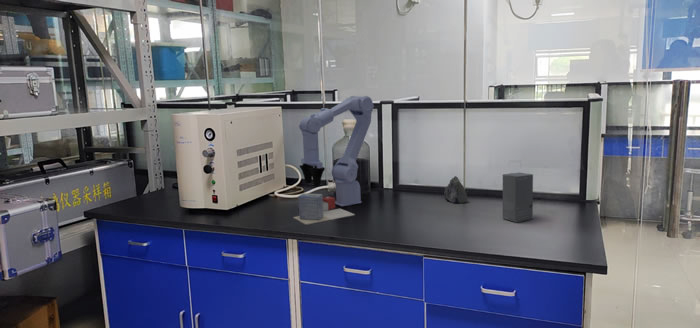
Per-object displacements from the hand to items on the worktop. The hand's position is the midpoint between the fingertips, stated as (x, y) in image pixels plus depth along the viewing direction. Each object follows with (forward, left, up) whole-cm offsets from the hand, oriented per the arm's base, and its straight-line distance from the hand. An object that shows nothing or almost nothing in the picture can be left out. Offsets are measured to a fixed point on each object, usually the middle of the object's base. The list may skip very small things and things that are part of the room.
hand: (312, 184), depth 189 cm
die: (-6, 0, -10) cm, 12 cm away
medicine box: (+6, +10, -10) cm, 15 cm away
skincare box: (-51, +54, -11) cm, 75 cm away
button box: (0, 0, -10) cm, 10 cm away
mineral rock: (-53, +21, -11) cm, 58 cm away
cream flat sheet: (+1, +10, -10) cm, 14 cm away
